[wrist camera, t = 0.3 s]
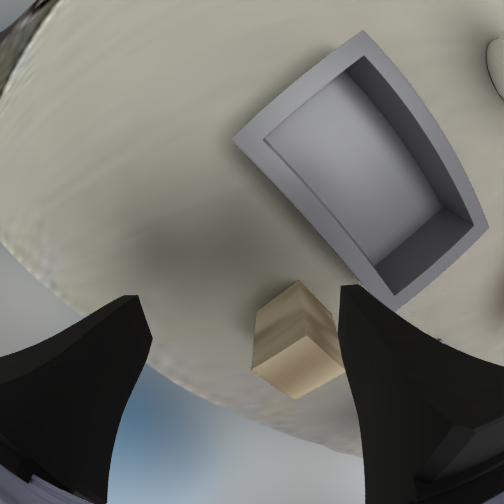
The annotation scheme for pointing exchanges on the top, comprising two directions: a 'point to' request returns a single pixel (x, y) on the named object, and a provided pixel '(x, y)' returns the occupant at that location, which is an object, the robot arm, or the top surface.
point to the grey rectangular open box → (368, 170)
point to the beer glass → (496, 64)
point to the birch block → (296, 343)
